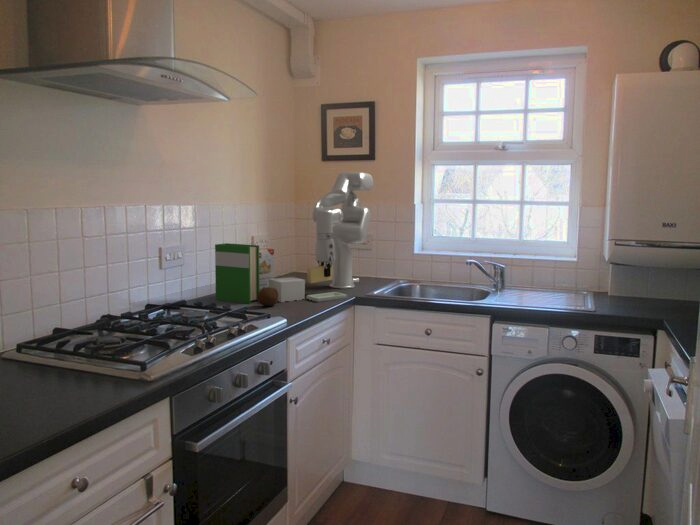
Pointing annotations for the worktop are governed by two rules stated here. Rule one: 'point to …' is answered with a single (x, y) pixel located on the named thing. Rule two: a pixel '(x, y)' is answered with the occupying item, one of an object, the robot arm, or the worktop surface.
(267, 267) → the cracker box
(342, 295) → the tray
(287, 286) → the notched white block
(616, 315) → the worktop surface
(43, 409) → the worktop surface
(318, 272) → the tan wooden brick
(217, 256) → the hardback book
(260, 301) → the potato
